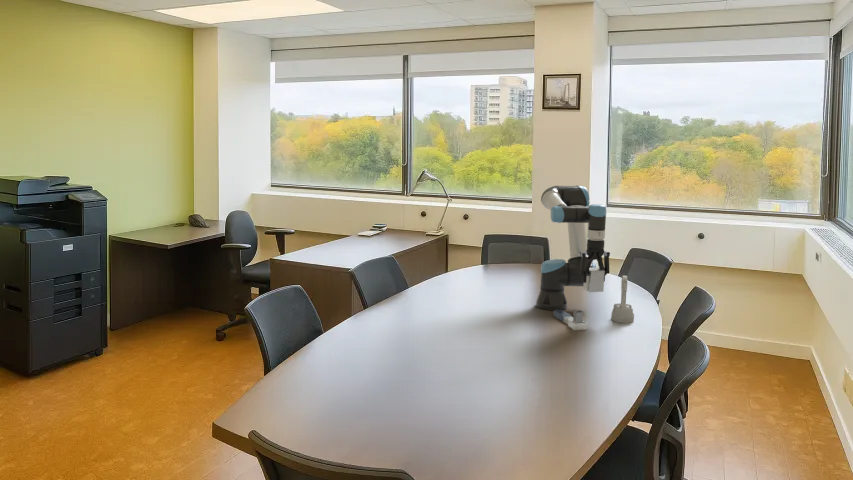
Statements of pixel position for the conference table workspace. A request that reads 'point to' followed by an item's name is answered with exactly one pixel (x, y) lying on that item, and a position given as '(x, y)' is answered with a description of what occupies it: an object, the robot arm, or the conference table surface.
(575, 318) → the blue-grey beige mallet
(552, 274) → the robot arm
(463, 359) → the conference table surface
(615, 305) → the engine component
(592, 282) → the grey textured cube
